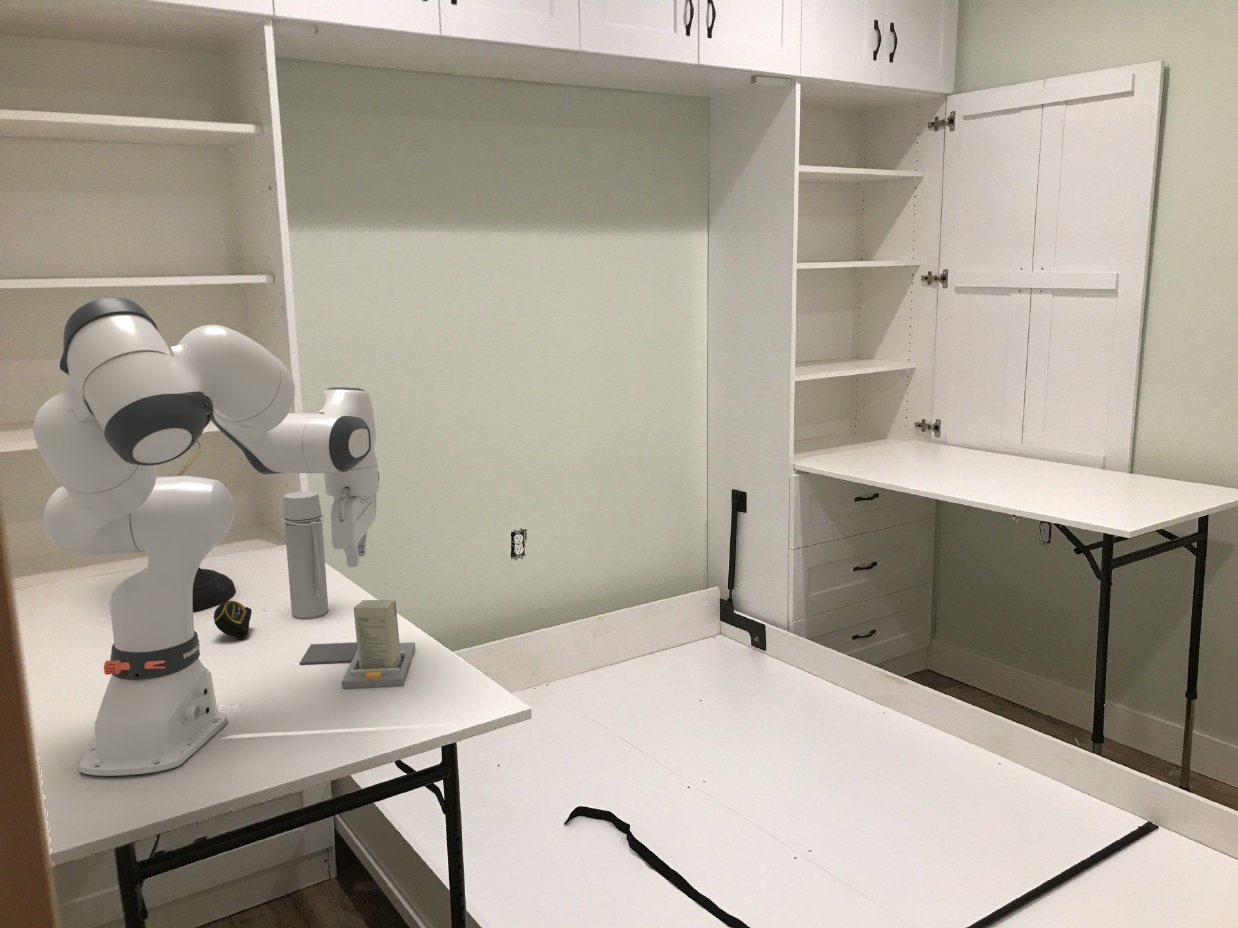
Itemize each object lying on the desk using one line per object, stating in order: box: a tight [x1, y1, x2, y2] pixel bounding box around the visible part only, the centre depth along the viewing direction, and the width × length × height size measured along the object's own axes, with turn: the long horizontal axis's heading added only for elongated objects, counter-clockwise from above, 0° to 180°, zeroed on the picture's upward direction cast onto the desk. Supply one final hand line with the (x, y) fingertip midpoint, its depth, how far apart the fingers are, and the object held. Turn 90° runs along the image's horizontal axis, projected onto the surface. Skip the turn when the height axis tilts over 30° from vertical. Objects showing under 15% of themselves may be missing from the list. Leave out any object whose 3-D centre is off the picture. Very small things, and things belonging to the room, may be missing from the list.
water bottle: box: [282, 490, 329, 620], centre depth 196 cm, size 9×8×25 cm
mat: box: [299, 641, 357, 666], centre depth 178 cm, size 9×9×1 cm
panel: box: [341, 641, 416, 690], centre depth 171 cm, size 17×10×2 cm, turn 5°
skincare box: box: [353, 599, 402, 670], centre depth 169 cm, size 6×4×12 cm
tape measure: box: [213, 600, 253, 640], centre depth 187 cm, size 7×7×4 cm
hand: (357, 560), depth 169 cm, fingers open, 5 cm apart
